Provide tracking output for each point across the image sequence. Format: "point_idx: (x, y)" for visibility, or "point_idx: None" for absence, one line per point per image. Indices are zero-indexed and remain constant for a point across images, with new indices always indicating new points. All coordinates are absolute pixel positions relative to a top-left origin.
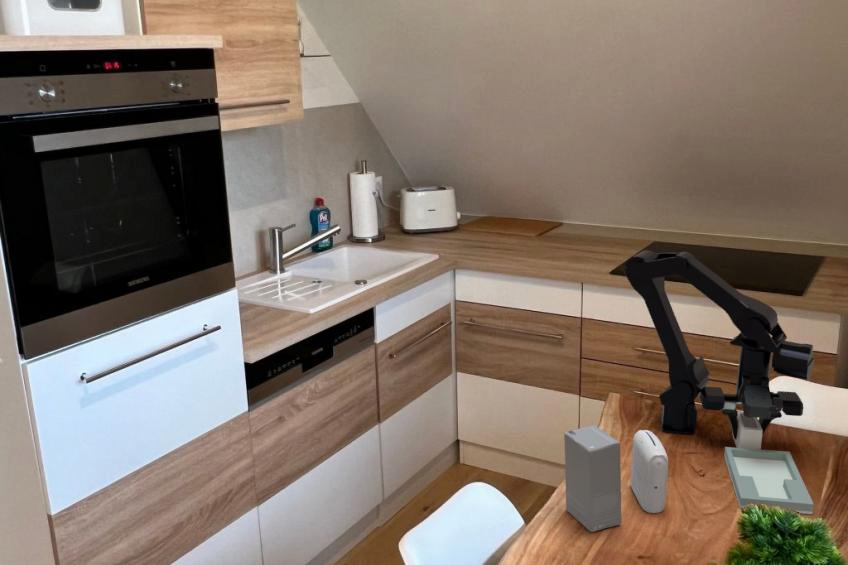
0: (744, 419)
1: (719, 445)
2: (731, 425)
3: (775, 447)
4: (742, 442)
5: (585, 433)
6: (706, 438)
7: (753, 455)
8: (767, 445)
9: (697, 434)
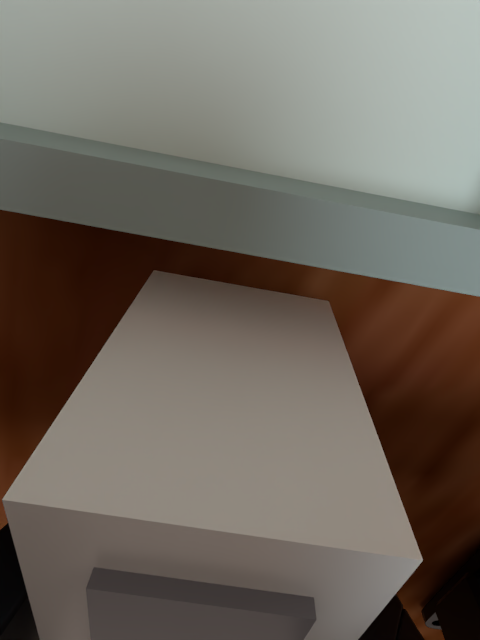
0: None
1: (412, 416)
2: (406, 613)
3: (11, 378)
4: (326, 365)
5: None
6: (445, 489)
7: (248, 178)
8: (65, 403)
9: (470, 524)
